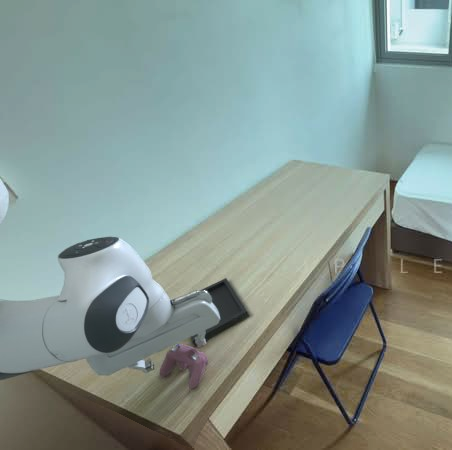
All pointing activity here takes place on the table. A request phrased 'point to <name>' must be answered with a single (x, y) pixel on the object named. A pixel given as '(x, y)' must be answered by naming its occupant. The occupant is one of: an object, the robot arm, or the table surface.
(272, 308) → the table surface
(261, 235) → the table surface
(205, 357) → the video game controller
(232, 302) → the black rectangular tray
